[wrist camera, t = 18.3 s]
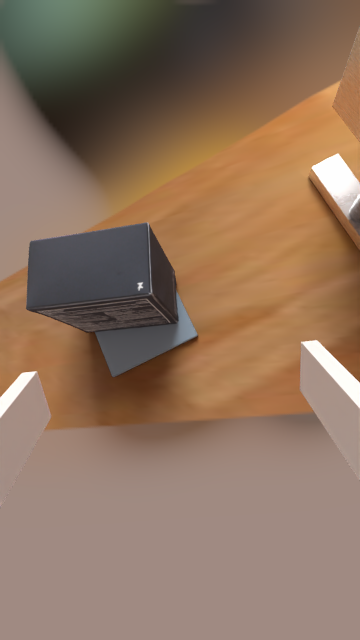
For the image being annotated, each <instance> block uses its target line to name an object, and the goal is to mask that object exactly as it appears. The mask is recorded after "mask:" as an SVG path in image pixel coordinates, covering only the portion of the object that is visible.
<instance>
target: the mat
mask: <svg viewBox="0 0 360 640" xmlns="http://www.w3.org/2000/svg"><path fill="white" fill-rule="evenodd" d="M176 299H177V308H178V310H177V313H178V317H179V318H178V319H179V321H178V322H177V324H168V325H160V326H150V327H141V328H130V329H120V330H109V331H99V332H95V334H96V337H97V339H98V342H99V344H100V347H101V349H102V352H103V354H104V357H105V360H106V362H107V365H108V367H109V370H110V372H111V375H112V377H116V376H118V375H120V374H122V373H124V372H126V371H128V370H130V369H132V368H134V367H136V366H138V365H140V364H142V363H144V362H146V361H148V360H150V359H152V358H154V357H156V356H158V355H160V354H162V353H164V352H166V351H168V350H171V349H173V348H175V347H177V346H179V345H181V344H183V343H185V342H187V341H189V340H191V339H193V338H195V337H197V336H198V334H197V332H196V330H195V328H194V326H193V324H192V322H191V320H190V318H189V316H188V314H187V312H186V310H185V308H184V305H183V303H182V301H181V299H180V297H179V295H178V293H177V291H176Z"/></svg>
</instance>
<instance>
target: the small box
mask: <svg viewBox="0 0 360 640" xmlns="http://www.w3.org/2000/svg"><path fill="white" fill-rule="evenodd" d="M28 260H29V261H28V282H27V305H26V309H27V310H29V311H32V312H36V313H39V314H42V315H45V316H48V317H51V318H53V319H55V320H58V321H60V322H63V323H66V324H68V325H71V326H73V327H75V328H78V329H80V330H82V331H85V332H87V333H89V332H99V331H109V330H120V329H130V328H141V327H150V326H160V325H168V324H177V322H178V321H179V319H178V318H179V317H178V313H177V310H178V308H177V299H176V278H175V271H174V269H173V268H172V266H171V264H170V262H169V261H168V259H167V257H166V255H165V253H164V251H163V249H162V248H161V246H160V244H159V242H158V240H157V238H156V236H155V235H154V233H153V231H152V229H151V228H150V225H149V224H148V223H141V224H135V225H129V226H123V227H117V228H111V229H104V230H98V231H92V232H86V233H79V234H73V235H67V236H61V237H54V238H47V239H42V240H35V241H31V242H30V247H29V259H28Z"/></svg>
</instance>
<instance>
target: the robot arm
mask: <svg viewBox="0 0 360 640" xmlns="http://www.w3.org/2000/svg"><path fill="white" fill-rule="evenodd" d="M300 391H301V392H302V394H303V395H304V397H305V398H306V400H307V401H308V403H309V404H310V406H311V408H312V409H313V411H314V412H315V414H316V415H317V416H318V418H319V420H320V421H321V423H322V424H323V426H324V427H325V429H326V430H327V432H328V433H329V435H330V436H331V438H332V439H333V441H334V442H335V444H336V446H337V447H338V449H339V450H340V451H341V453H342V454H343V456H344V458H345V459H346V461H347V462H348V464H349V465H350V467H351V468H352V470H353V471H354V473H355V475H356V476H357V478H358V479H359V481H360V383H359V382H358V381H357V380H356V379H355V378H354V377H353V376H352V375H351V374H350V373H349V372H348V371H347V370H346V369H345V368H344V367H343V366H342V365H341V364H340V363H339V362H338V361H337V360H336V359H335V358H334V357H333V356H332V355H331V354H330V353H329V352H328V351H327V350H326V349H325V348H324V347H323V346H322V345H321V344H320V343H319V342H318V341H317V340H314V341H305V342H301V365H300ZM50 418H51V414H50V410H49V407H48V404H47V401H46V398H45V395H44V392H43V388H42V385H41V382H40V379H39V376H38V373H37V371H36V372H27V373H22V374H21V375H20V376H19V377H18V378H17V379H16V380H15V382H14V383H13V384H12V385H11V386H10V387H9V389H8V390H7V391H6V392H5V393H4V394H3V395H2V397H1V398H0V507H1V506H2V504H3V502H4V500H5V498H6V497H7V495H8V493H9V491H10V489H11V488H12V486H13V484H14V482H15V481H16V479H17V477H18V475H19V473H20V472H21V470H22V468H23V466H24V464H25V463H26V461H27V459H28V457H29V455H30V454H31V452H32V450H33V449H34V447H35V445H36V443H37V441H38V439H39V438H40V436H41V434H42V432H43V431H44V429H45V427H46V425H47V424H48V422H49V420H50Z"/></svg>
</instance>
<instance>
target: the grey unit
mask: <svg viewBox="0 0 360 640" xmlns="http://www.w3.org/2000/svg"><path fill="white" fill-rule="evenodd" d="M332 107H333V108H334V109H335V111H336V112H337V113H338V114H339V116H340V117H341V118H342V120H343V121H344V122H345V124H346V125H347V126H348V127H349V129H350V130H351V131H352V133H353V134H354V135H355V136H356V138H357V139H358V140H359V142H360V27H359V30H358V33H357V36H356V39H355V42H354V45H353V48H352V51H351V54H350V56H349V60H348V62H347V65H346V68H345V71H344V74H343V77H342V80H341V83H340V86H339V88H338V91H337V94H336V97H335V100H334V103H333V106H332ZM309 178H310V179H311V181H312V182H313V184H314V185H315V187H316V188H317V190H318V191H319V192H320V194H321V195H322V197H323V198H324V200H325V201H326V203H327V204H328V206H329V207H330V208H331V210H332V211H333V213H334V214H335V216H336V217H337V219H338V220H339V222H340V223H341V224H342V226H343V227H344V229H345V230H346V232H347V233H348V235H349V236H350V238H351V239H352V240H353V242H354V243H355V245H356V246H357V248H358V249H359V251H360V183H359V181H358V180H357V179H356V177H355V176H354V175H353V173H352V172H351V170H350V169H349V168H348V166H347V165H346V164H345V162H344V161H343V160H342V158H341V157H340V156H339V154H336V155H334V156H332V157H330V158H328V159H326V160H324V161H323V162H321V163H319V164H317V165H315V166H313V167H311V170H310V173H309Z"/></svg>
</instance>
